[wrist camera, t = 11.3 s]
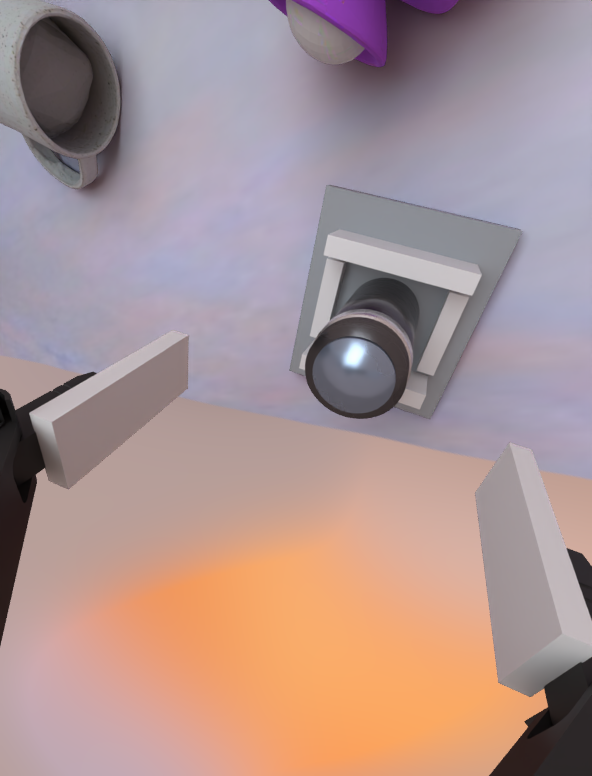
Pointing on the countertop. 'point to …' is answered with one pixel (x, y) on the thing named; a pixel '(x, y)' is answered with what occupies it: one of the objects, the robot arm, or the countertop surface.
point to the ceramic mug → (57, 86)
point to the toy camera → (346, 27)
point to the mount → (405, 278)
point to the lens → (365, 351)
